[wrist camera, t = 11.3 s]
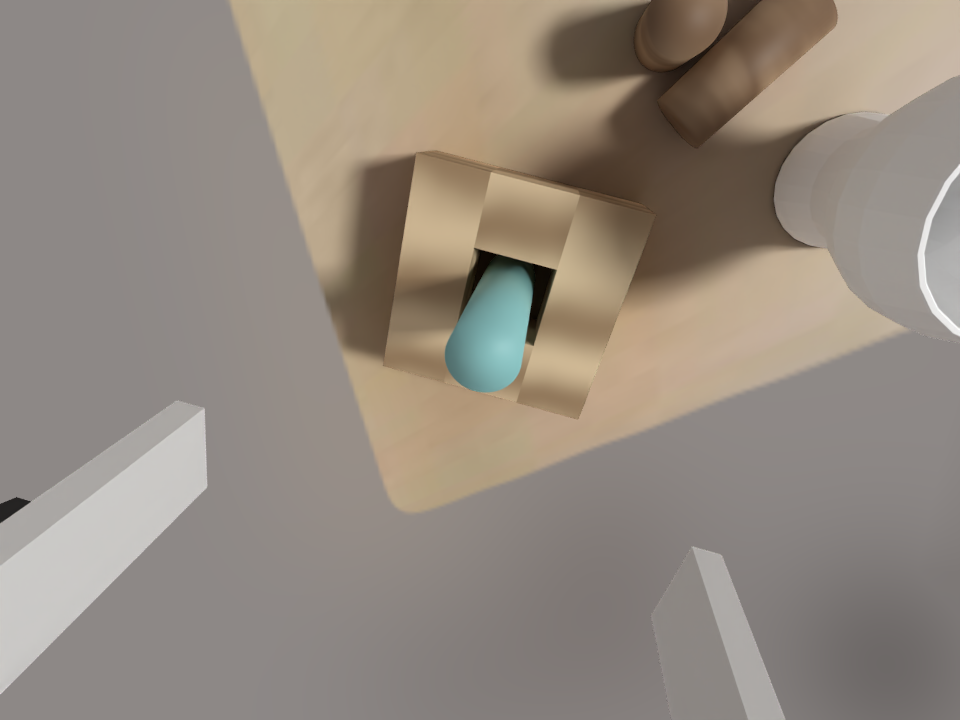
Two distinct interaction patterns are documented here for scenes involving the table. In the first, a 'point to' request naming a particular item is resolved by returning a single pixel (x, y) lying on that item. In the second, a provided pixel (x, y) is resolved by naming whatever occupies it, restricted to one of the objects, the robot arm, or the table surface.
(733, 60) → the pin medium
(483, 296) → the pin long
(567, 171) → the table surface
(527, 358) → the hole block
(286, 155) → the table surface
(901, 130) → the cup
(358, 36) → the table surface
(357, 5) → the table surface
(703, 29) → the pin short
